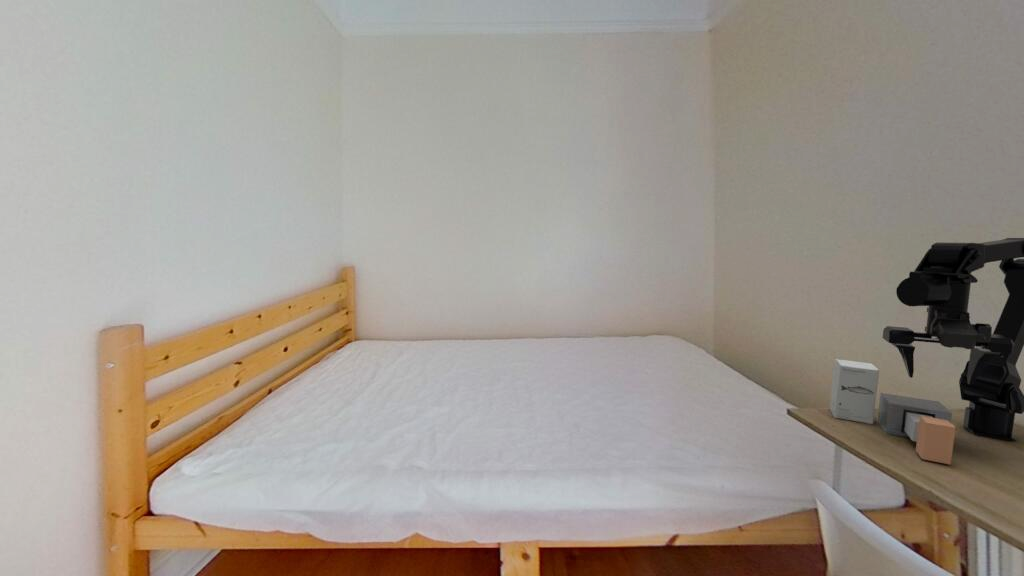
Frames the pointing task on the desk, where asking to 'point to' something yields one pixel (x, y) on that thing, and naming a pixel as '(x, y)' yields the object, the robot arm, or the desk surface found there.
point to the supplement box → (854, 390)
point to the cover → (931, 437)
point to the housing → (898, 406)
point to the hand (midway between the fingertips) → (939, 380)
